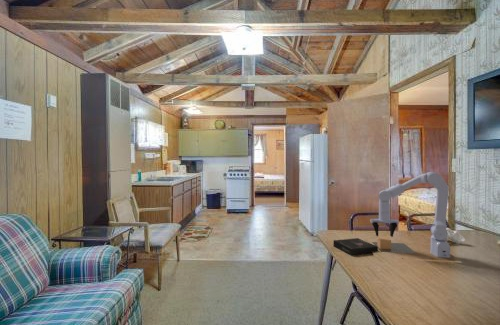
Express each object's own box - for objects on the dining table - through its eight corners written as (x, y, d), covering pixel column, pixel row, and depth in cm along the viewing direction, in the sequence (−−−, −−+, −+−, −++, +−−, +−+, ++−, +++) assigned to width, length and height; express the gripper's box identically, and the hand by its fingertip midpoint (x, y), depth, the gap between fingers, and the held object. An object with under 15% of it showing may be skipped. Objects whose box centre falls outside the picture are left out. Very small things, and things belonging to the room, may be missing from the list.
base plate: (416, 255, 152) (416, 248, 152) (380, 253, 155) (380, 247, 155) (403, 245, 170) (403, 239, 170) (371, 243, 173) (371, 237, 173)
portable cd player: (378, 253, 156) (378, 246, 156) (351, 256, 151) (351, 249, 151) (358, 244, 172) (358, 238, 172) (333, 247, 167) (333, 240, 167)
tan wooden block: (390, 249, 159) (391, 240, 159) (380, 248, 160) (380, 239, 160) (387, 246, 165) (387, 237, 165) (377, 245, 165) (377, 237, 165)
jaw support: (452, 234, 181) (458, 226, 174) (458, 247, 175) (465, 240, 168) (431, 234, 182) (437, 226, 175) (437, 247, 177) (443, 240, 170)
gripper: (395, 210, 165) (395, 234, 165) (368, 210, 167) (368, 233, 167) (400, 213, 158) (400, 238, 158) (372, 212, 160) (372, 237, 160)
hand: (384, 236), depth 162 cm, fingers open, 7 cm apart
